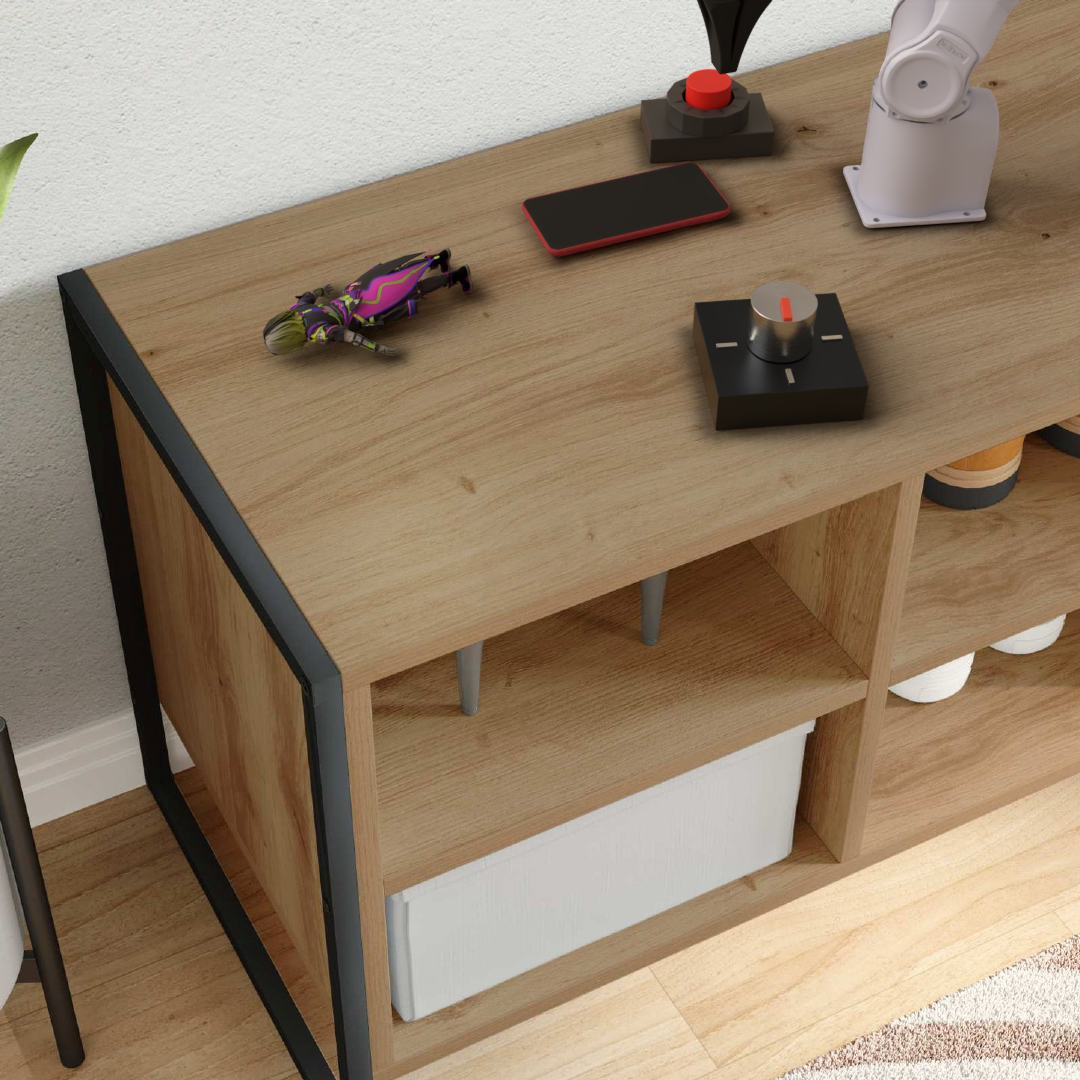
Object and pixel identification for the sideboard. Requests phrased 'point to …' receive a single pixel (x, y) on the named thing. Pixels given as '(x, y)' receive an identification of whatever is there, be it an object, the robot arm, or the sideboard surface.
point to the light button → (708, 89)
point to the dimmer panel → (777, 370)
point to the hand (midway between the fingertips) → (723, 66)
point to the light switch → (706, 127)
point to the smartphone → (624, 208)
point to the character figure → (363, 304)
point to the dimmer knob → (781, 321)
